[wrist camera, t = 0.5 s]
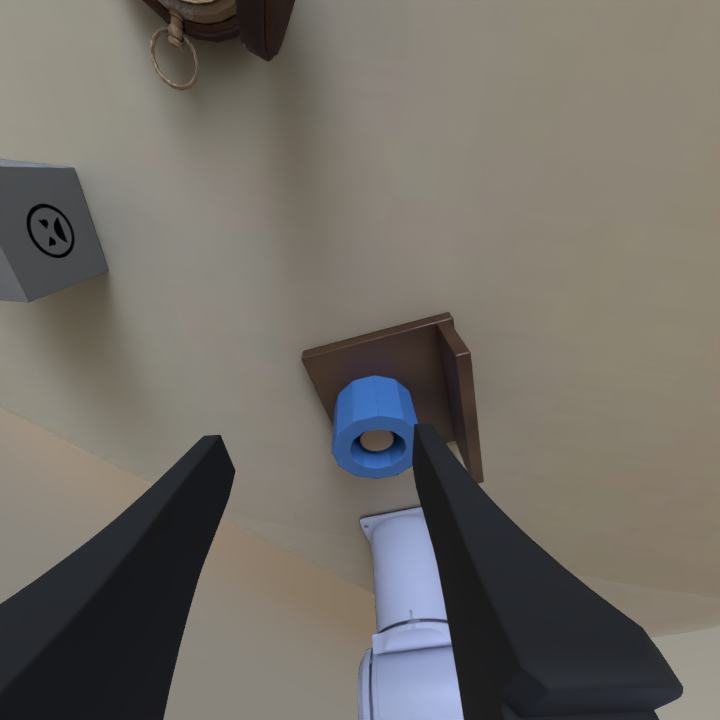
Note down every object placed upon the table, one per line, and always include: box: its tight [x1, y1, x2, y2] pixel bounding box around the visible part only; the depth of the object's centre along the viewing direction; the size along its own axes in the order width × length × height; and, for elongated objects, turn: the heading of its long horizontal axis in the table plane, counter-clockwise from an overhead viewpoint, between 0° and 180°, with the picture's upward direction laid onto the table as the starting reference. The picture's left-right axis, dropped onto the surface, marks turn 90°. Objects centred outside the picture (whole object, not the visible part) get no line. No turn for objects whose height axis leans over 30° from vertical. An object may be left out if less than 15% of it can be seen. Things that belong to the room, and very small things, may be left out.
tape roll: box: [332, 375, 418, 479], centre depth 20 cm, size 6×6×4 cm
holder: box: [302, 312, 484, 483], centre depth 20 cm, size 11×10×5 cm
